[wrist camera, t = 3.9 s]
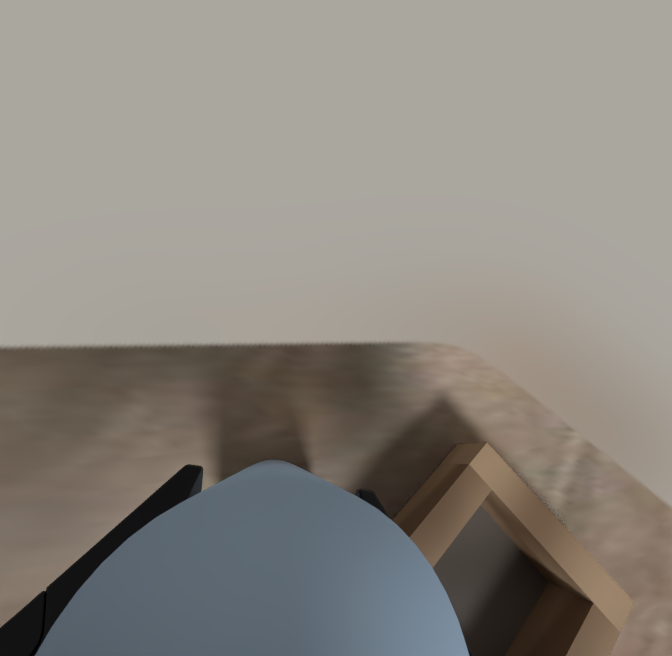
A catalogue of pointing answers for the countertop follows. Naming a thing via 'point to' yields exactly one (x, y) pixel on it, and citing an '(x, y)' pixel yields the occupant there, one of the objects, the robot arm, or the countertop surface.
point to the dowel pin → (263, 580)
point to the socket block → (510, 562)
